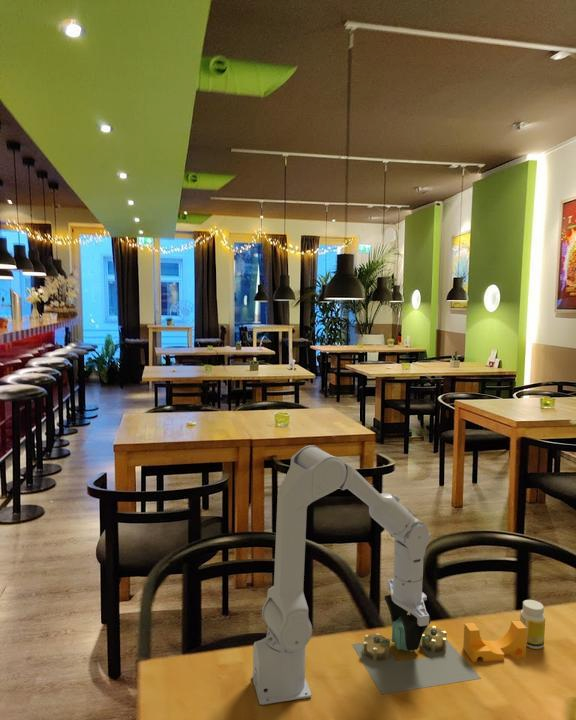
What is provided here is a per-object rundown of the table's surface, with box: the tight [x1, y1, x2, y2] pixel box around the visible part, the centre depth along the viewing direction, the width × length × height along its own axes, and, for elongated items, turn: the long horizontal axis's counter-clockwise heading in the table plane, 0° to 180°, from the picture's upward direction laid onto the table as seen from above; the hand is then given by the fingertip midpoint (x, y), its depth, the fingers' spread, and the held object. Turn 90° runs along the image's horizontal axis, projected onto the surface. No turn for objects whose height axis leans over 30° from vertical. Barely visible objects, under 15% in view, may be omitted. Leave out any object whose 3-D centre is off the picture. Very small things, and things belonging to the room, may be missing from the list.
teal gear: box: [391, 617, 414, 653], centre depth 108 cm, size 5×5×4 cm
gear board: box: [351, 625, 482, 695], centre depth 105 cm, size 20×15×4 cm
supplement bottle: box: [519, 599, 546, 650], centre depth 113 cm, size 5×5×8 cm
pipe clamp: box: [462, 620, 527, 663], centre depth 108 cm, size 12×4×6 cm, turn 96°
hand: (405, 640), depth 108 cm, fingers closed on teal gear, 5 cm apart
